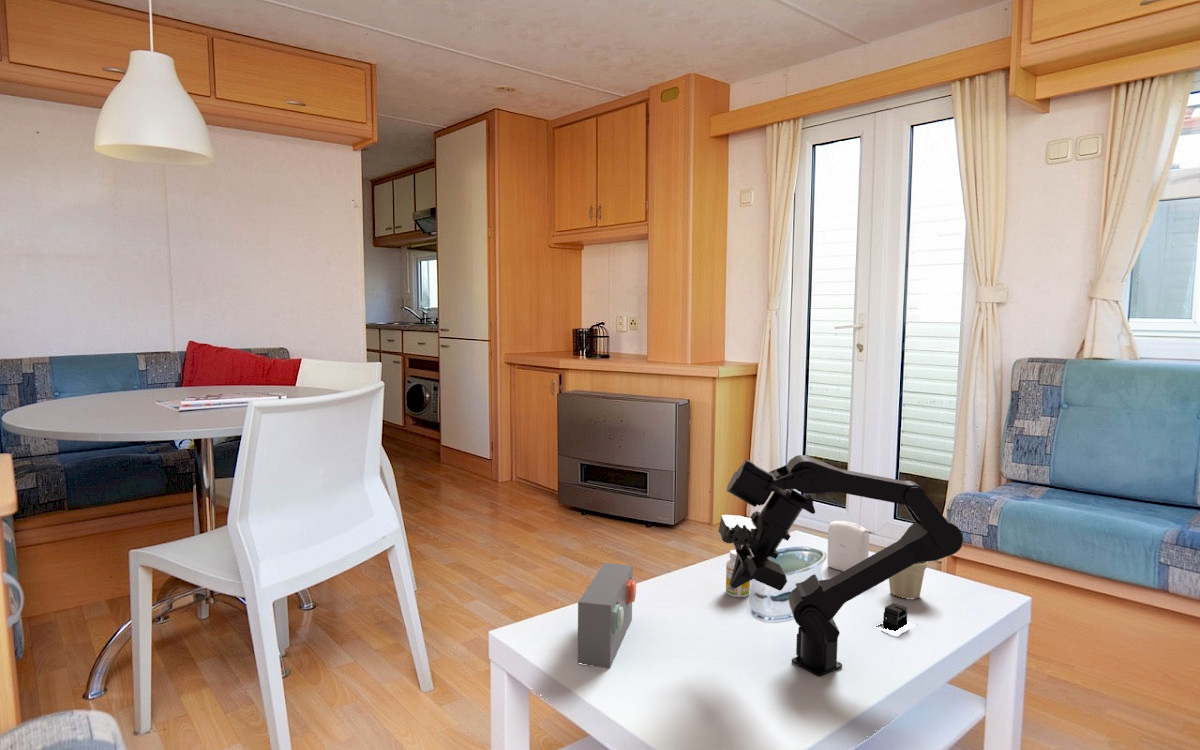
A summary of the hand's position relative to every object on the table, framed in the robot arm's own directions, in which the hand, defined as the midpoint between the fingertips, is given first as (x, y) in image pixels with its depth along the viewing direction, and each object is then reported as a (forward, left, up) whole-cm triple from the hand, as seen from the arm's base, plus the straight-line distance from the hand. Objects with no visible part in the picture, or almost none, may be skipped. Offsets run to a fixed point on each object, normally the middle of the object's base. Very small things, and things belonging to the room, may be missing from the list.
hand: (732, 586), depth 130 cm
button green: (+11, +20, -7) cm, 24 cm away
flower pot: (-1, -54, -13) cm, 56 cm away
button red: (+20, +11, -7) cm, 24 cm away
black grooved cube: (-9, -37, -14) cm, 41 cm away
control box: (+17, +17, -13) cm, 27 cm away
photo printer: (+16, -56, -13) cm, 60 cm away
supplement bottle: (+20, -22, -13) cm, 33 cm away
